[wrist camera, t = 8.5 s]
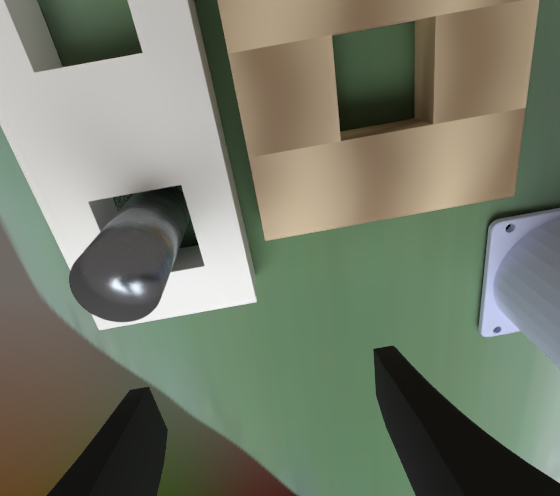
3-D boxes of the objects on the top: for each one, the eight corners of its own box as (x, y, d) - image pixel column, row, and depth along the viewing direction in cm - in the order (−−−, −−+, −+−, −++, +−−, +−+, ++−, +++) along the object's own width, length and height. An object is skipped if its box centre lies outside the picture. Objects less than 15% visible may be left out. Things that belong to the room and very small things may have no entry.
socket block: (519, -120, 14) (558, -146, 12) (489, 183, 20) (514, 195, 18) (207, -63, 14) (201, -81, 12) (263, 224, 20) (265, 240, 18)
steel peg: (183, 179, 18) (149, 241, 12) (195, 235, 20) (171, 316, 13) (121, 187, 18) (55, 252, 12) (138, 242, 20) (86, 327, 13)
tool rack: (157, -167, 13) (137, -215, 11) (255, 276, 21) (256, 302, 19) (-72, -125, 13) (-139, -164, 11) (114, 301, 21) (99, 330, 19)
